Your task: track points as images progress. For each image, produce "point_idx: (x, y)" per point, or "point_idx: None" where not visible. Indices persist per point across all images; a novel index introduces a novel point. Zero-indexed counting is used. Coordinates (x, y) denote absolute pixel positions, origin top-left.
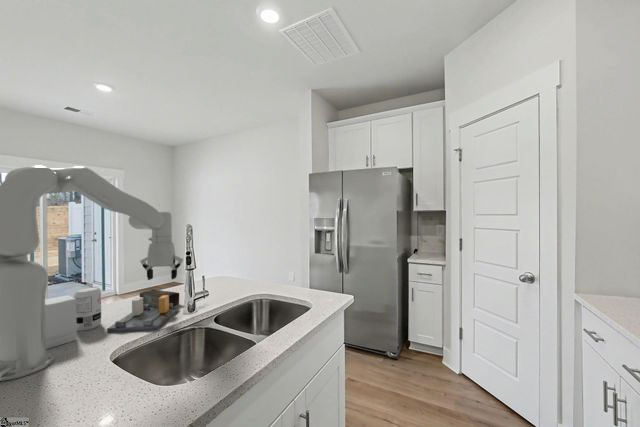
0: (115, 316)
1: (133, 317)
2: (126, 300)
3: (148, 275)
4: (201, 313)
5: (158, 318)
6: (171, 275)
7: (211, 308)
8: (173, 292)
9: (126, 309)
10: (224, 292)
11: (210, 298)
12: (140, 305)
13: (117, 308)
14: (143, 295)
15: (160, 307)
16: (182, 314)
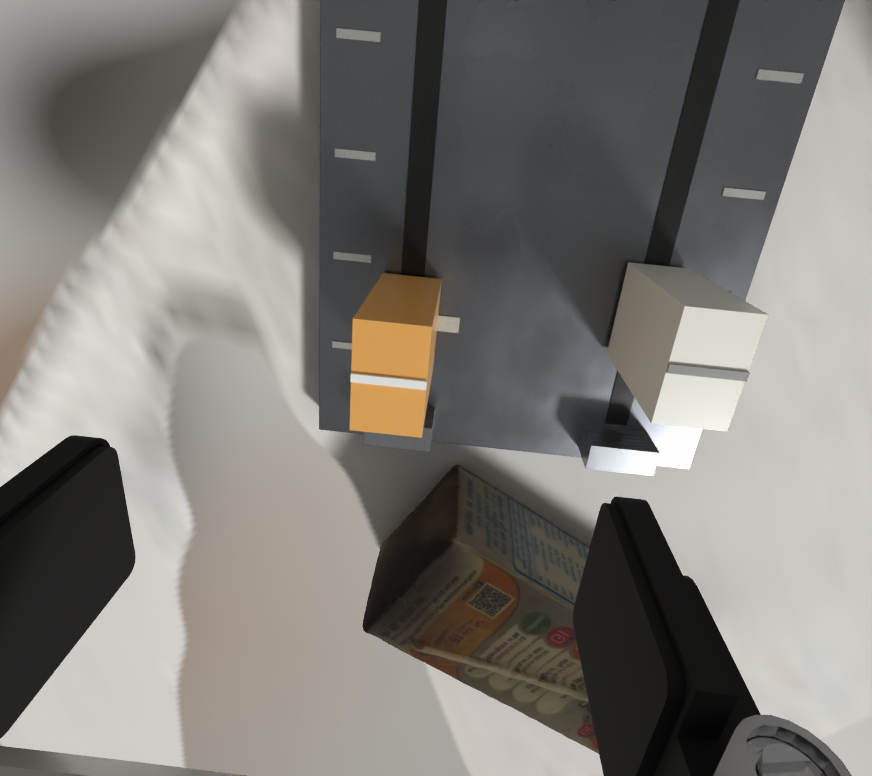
0: (846, 396)
1: (665, 227)
2: (830, 724)
3: (659, 567)
4: (85, 285)
5: (397, 132)
6: (52, 490)
7: (53, 391)
8: (413, 639)
9: (787, 539)
10: (120, 713)
11: (173, 618)
12: (643, 329)
13: (866, 578)
14: None
15: (420, 292)
16: (253, 301)
